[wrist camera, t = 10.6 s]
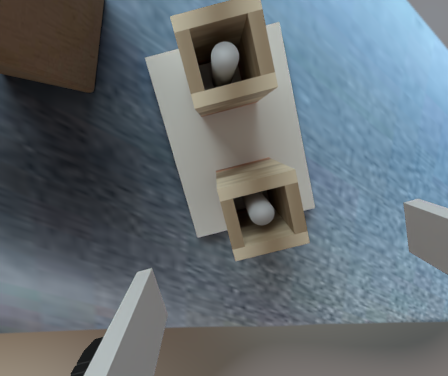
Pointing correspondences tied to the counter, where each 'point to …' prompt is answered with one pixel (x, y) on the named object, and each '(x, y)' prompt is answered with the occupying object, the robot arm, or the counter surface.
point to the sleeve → (278, 197)
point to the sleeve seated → (241, 38)
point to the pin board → (228, 132)
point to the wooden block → (51, 41)
